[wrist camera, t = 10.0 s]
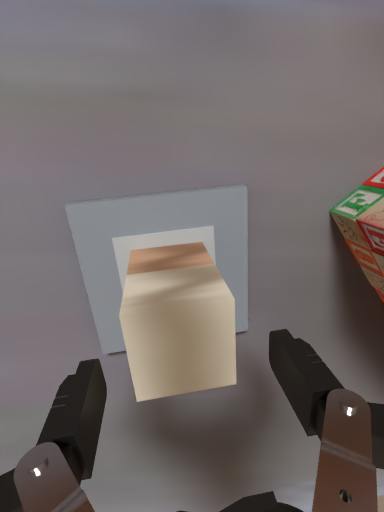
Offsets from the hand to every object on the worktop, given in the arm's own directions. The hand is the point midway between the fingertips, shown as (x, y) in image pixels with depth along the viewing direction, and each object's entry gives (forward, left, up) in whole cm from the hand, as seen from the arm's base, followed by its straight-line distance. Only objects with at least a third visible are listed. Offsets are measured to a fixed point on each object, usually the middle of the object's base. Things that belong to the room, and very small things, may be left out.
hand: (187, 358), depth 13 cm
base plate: (0, 0, -9) cm, 9 cm away
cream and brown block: (0, 0, -8) cm, 8 cm away
